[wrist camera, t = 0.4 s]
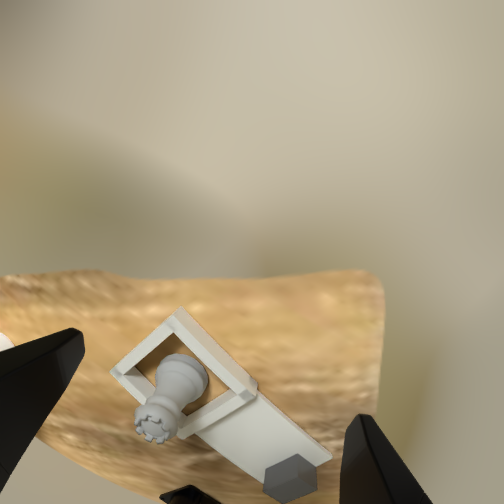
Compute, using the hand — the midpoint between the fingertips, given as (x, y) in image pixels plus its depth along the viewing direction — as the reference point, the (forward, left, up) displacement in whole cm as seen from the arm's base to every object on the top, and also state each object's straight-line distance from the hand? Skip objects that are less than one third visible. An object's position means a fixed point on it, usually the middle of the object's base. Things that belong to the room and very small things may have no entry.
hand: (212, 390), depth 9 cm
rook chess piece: (-11, -3, -15) cm, 19 cm away
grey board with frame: (-11, -9, -15) cm, 20 cm away
